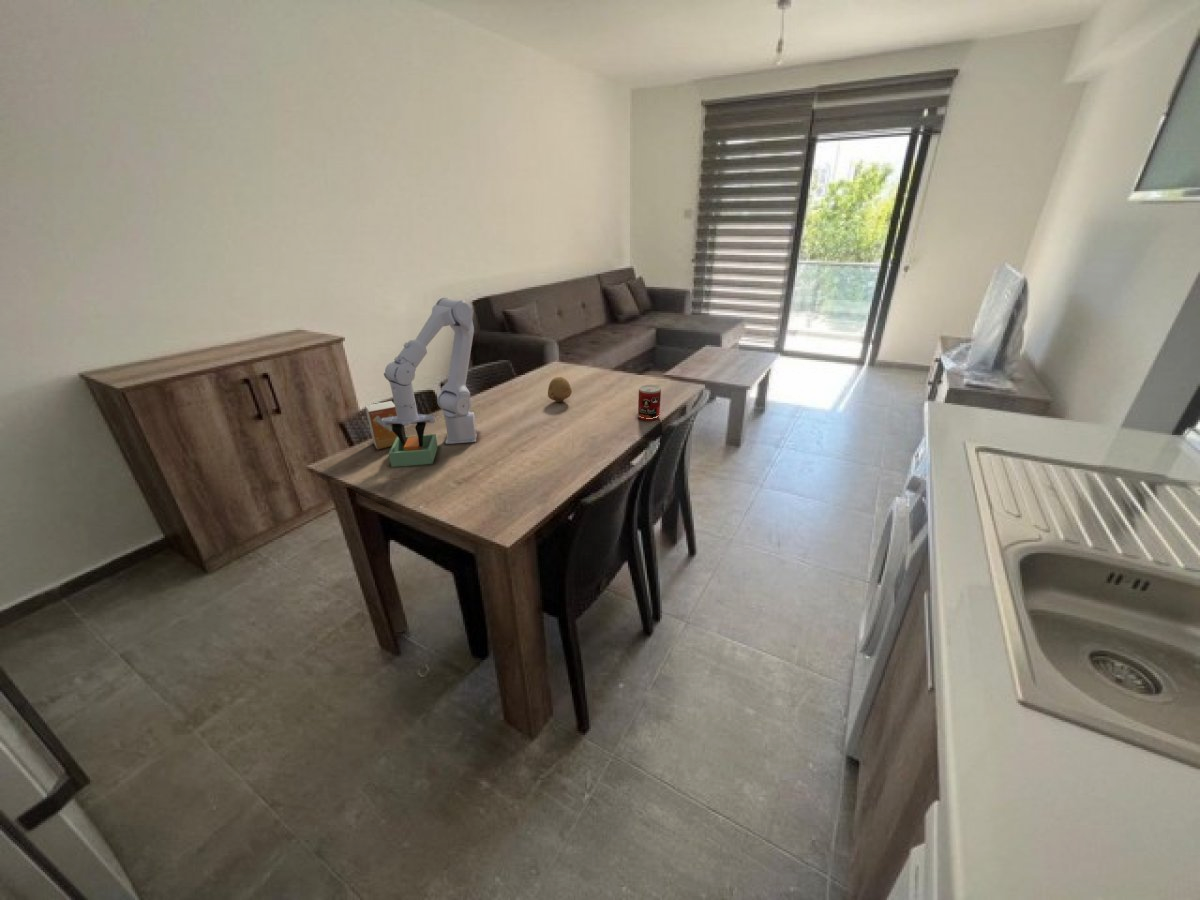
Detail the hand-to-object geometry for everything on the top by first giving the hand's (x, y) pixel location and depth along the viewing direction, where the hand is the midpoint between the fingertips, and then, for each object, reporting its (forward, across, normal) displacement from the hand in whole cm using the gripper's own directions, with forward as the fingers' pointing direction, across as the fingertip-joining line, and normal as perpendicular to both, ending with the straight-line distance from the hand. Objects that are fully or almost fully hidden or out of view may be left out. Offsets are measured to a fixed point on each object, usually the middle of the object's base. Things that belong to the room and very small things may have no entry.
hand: (413, 445), depth 144 cm
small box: (+4, -10, +11) cm, 16 cm away
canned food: (+4, +78, +18) cm, 80 cm away
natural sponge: (+4, +48, +39) cm, 62 cm away
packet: (+2, 0, 0) cm, 2 cm away
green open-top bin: (+4, 0, 0) cm, 4 cm away
